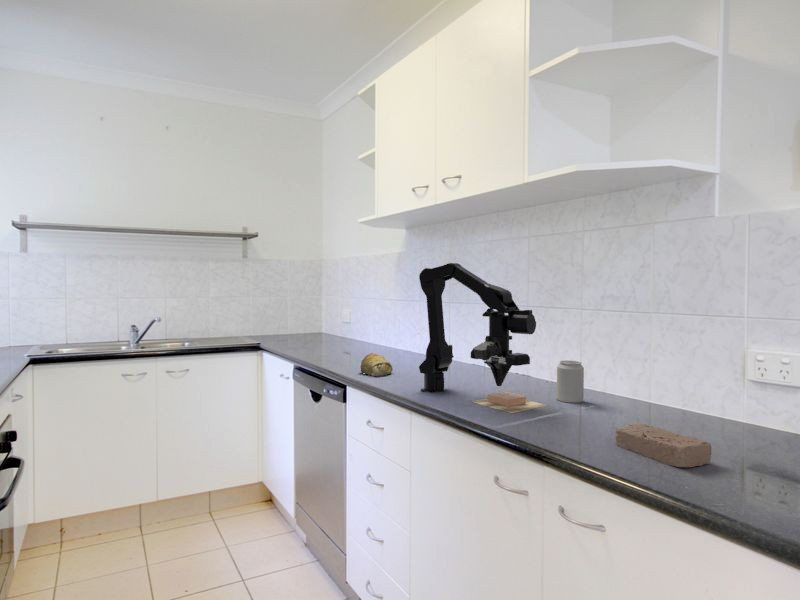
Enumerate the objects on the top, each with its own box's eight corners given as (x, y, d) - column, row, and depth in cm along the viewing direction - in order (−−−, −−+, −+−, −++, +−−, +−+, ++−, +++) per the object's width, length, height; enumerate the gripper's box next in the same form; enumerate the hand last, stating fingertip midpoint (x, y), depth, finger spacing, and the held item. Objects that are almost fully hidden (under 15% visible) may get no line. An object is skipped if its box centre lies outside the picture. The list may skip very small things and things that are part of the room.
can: (585, 405, 142) (586, 363, 142) (558, 404, 144) (558, 362, 143) (581, 399, 150) (581, 359, 149) (555, 398, 151) (555, 359, 151)
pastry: (365, 370, 202) (365, 350, 202) (395, 371, 200) (395, 351, 199) (355, 376, 188) (355, 355, 188) (388, 378, 186) (388, 356, 185)
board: (470, 403, 145) (470, 401, 145) (506, 397, 153) (506, 395, 153) (511, 415, 132) (511, 413, 132) (549, 407, 140) (549, 405, 140)
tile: (488, 394, 144) (508, 399, 138) (505, 391, 148) (525, 396, 142) (487, 401, 144) (508, 407, 138) (505, 398, 148) (525, 403, 142)
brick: (612, 445, 108) (612, 424, 107) (641, 441, 111) (641, 420, 111) (682, 472, 92) (683, 447, 92) (713, 466, 96) (713, 442, 96)
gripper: (456, 331, 148) (456, 383, 149) (502, 336, 133) (502, 395, 133) (484, 329, 155) (484, 379, 155) (531, 334, 139) (531, 390, 140)
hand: (499, 385), depth 146 cm, fingers closed
